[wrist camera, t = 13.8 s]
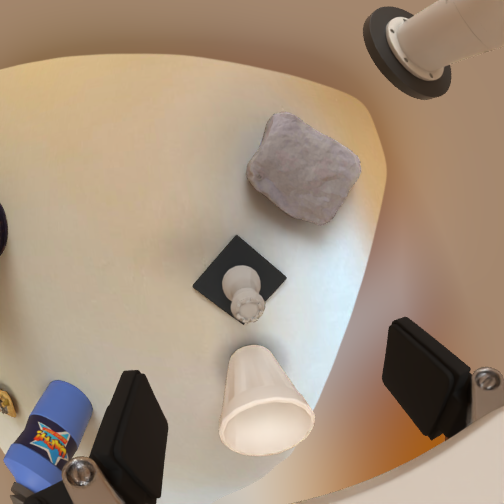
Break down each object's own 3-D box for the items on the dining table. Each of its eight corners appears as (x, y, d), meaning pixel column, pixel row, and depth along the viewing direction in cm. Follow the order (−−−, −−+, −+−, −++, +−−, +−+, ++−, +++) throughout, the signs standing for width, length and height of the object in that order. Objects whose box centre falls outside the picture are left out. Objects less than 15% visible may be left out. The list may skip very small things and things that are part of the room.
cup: (300, 361, 37) (332, 424, 25) (246, 398, 38) (259, 465, 25) (257, 317, 35) (279, 381, 22) (199, 360, 35) (197, 431, 23)
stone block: (318, 225, 35) (357, 159, 32) (328, 238, 31) (373, 162, 27) (234, 181, 33) (274, 109, 29) (232, 188, 28) (278, 104, 25)
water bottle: (58, 371, 33) (-8, 484, 9) (102, 407, 35) (62, 529, 11) (41, 392, 34) (-13, 490, 9) (80, 424, 36) (43, 528, 12)
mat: (236, 234, 32) (236, 235, 32) (285, 276, 34) (287, 278, 34) (192, 285, 33) (192, 286, 32) (242, 322, 35) (243, 324, 34)
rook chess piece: (233, 257, 32) (239, 280, 24) (266, 274, 33) (282, 301, 25) (215, 289, 33) (216, 320, 25) (247, 305, 34) (258, 339, 26)
